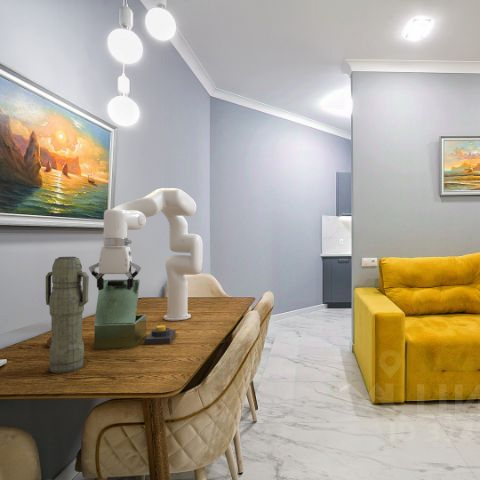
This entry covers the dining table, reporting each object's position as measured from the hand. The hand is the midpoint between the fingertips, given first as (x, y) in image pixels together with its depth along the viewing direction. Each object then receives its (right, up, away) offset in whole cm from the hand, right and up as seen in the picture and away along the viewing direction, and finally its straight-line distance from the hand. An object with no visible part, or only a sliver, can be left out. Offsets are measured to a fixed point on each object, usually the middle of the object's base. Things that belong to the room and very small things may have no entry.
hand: (115, 289), depth 129 cm
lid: (-1, -5, +3) cm, 6 cm away
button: (+11, -18, +12) cm, 25 cm away
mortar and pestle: (-23, -22, +3) cm, 32 cm away
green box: (-2, -22, +8) cm, 23 cm away
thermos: (-5, -22, -18) cm, 29 cm away
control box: (+11, -22, +12) cm, 27 cm away
